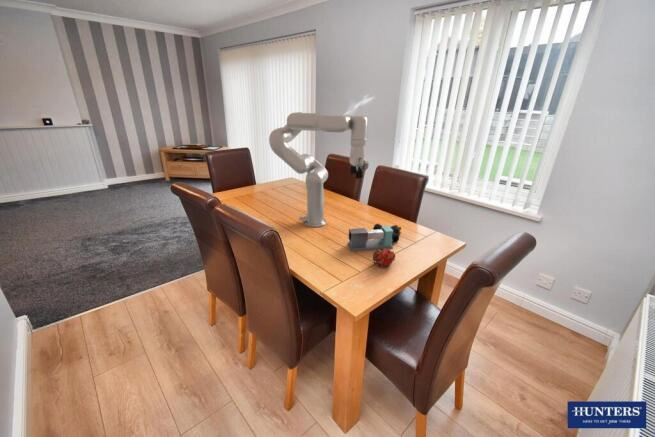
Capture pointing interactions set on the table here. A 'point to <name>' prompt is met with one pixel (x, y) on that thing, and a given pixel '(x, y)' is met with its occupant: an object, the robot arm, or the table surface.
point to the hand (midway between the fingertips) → (355, 175)
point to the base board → (370, 246)
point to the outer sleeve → (358, 237)
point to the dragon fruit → (383, 257)
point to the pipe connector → (394, 235)
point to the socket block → (387, 236)
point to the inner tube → (376, 234)
